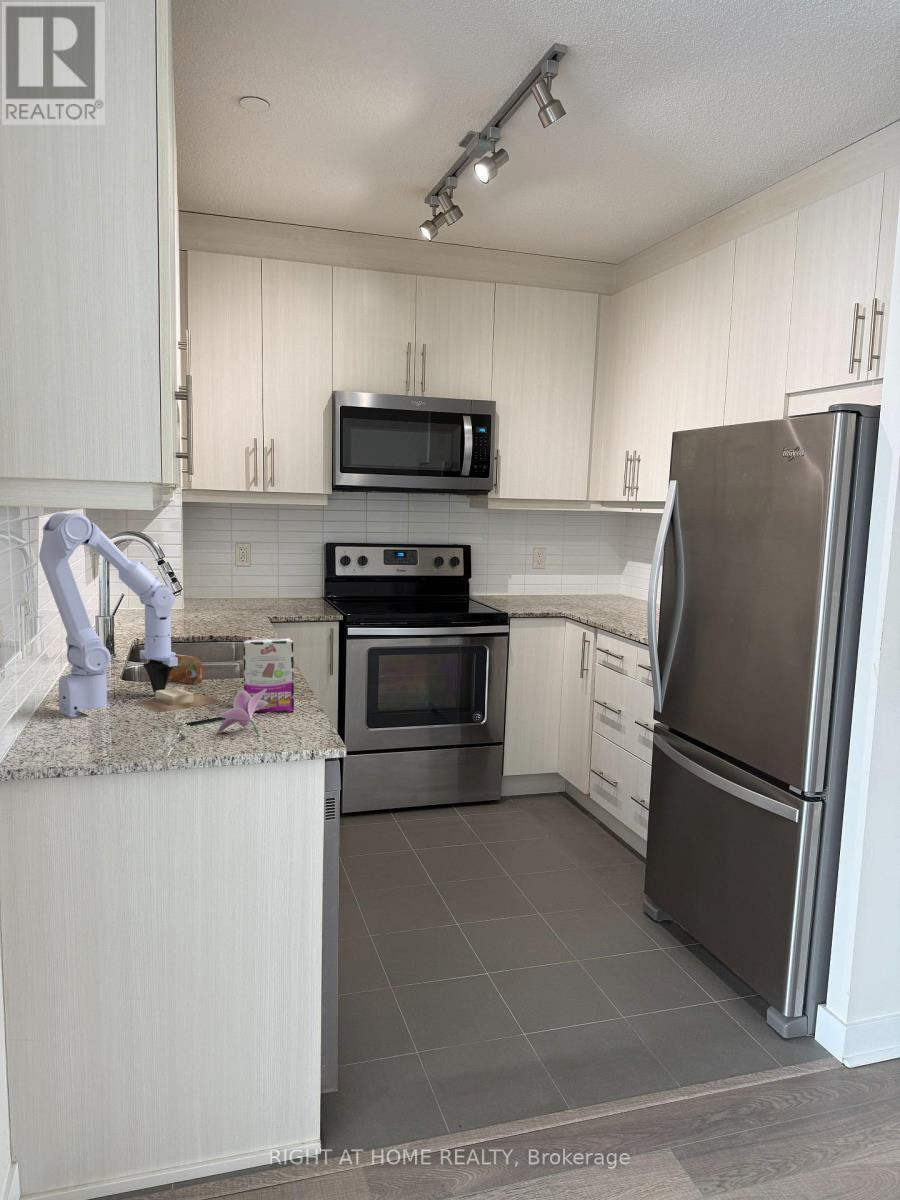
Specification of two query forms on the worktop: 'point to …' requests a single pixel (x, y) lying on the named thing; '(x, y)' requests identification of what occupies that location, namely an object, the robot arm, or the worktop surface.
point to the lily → (243, 709)
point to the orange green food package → (186, 670)
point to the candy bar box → (270, 672)
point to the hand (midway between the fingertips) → (158, 692)
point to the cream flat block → (174, 696)
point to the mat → (206, 721)
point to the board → (162, 706)
